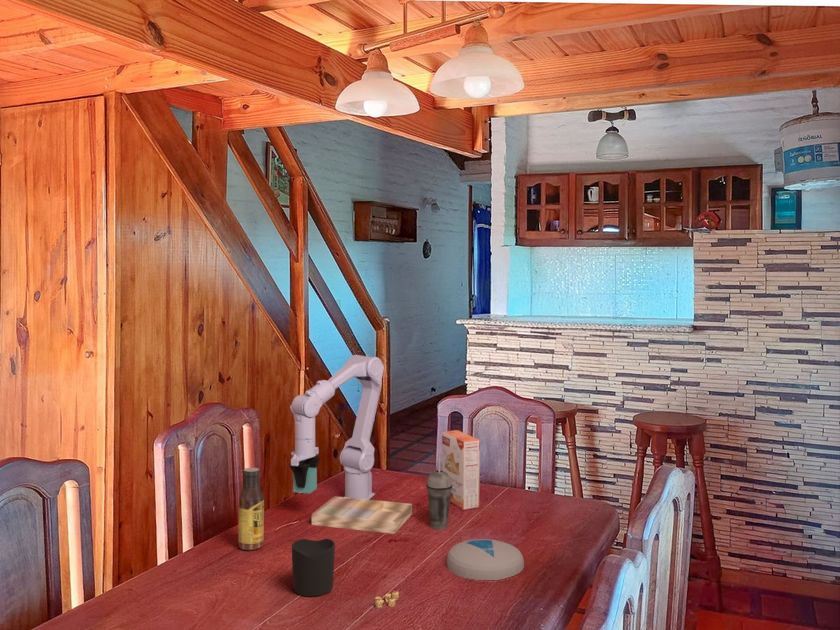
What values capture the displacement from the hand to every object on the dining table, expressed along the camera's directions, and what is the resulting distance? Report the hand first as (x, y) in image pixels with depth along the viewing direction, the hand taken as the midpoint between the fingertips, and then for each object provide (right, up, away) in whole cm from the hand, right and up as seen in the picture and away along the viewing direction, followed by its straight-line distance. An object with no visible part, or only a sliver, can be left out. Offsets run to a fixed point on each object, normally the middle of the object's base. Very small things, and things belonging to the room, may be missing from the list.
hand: (305, 484), depth 210 cm
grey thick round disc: (+48, -12, -34) cm, 60 cm away
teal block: (0, -2, 0) cm, 2 cm away
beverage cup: (+38, -10, -8) cm, 40 cm away
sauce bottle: (-10, -11, -24) cm, 28 cm away
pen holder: (+9, -12, -48) cm, 50 cm away
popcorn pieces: (+26, -13, -54) cm, 61 cm away
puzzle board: (+17, -9, -3) cm, 19 cm away
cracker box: (+45, -9, +13) cm, 48 cm away
